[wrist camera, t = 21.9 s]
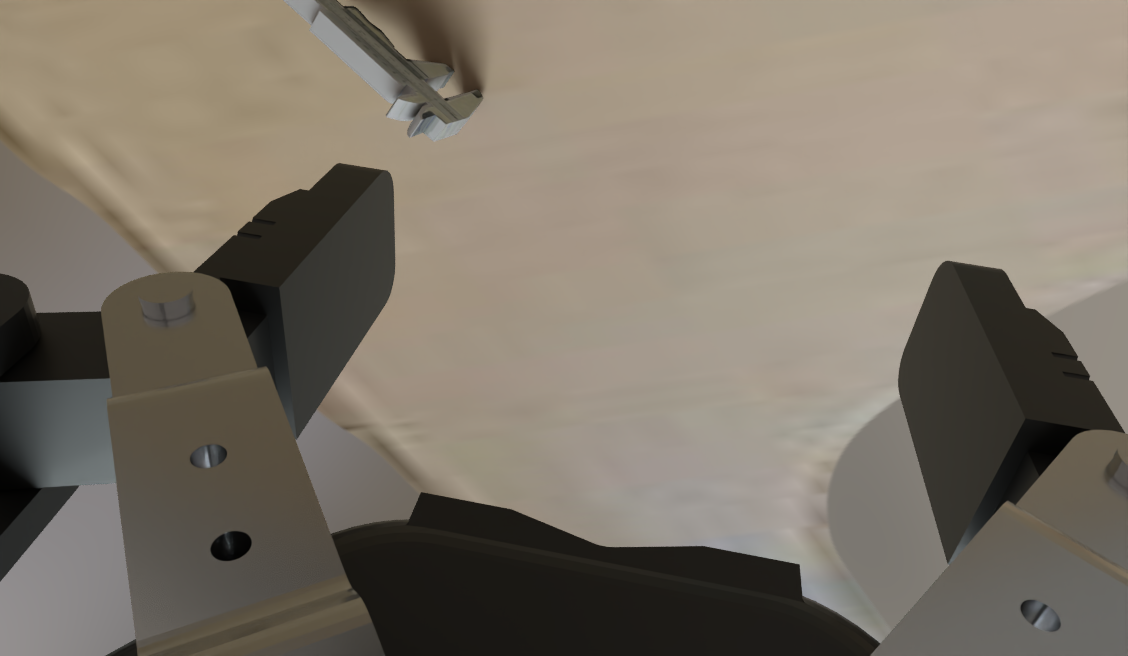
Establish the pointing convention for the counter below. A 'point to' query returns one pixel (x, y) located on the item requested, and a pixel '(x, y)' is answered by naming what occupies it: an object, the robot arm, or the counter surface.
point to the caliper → (390, 69)
